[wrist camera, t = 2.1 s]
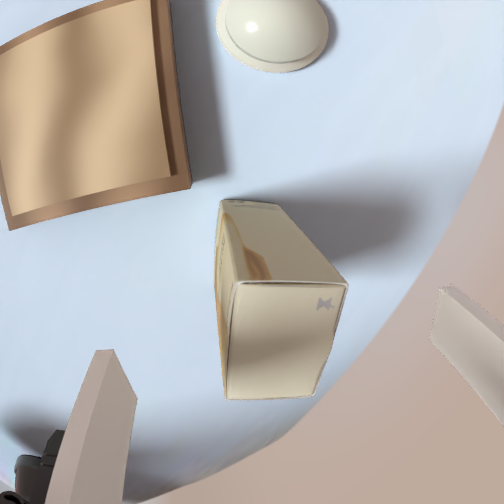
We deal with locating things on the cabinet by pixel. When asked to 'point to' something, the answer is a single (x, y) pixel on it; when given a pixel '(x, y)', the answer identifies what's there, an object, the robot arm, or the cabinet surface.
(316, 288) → the skincare box
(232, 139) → the cabinet surface
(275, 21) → the trinket dish
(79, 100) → the tan square flat tray
